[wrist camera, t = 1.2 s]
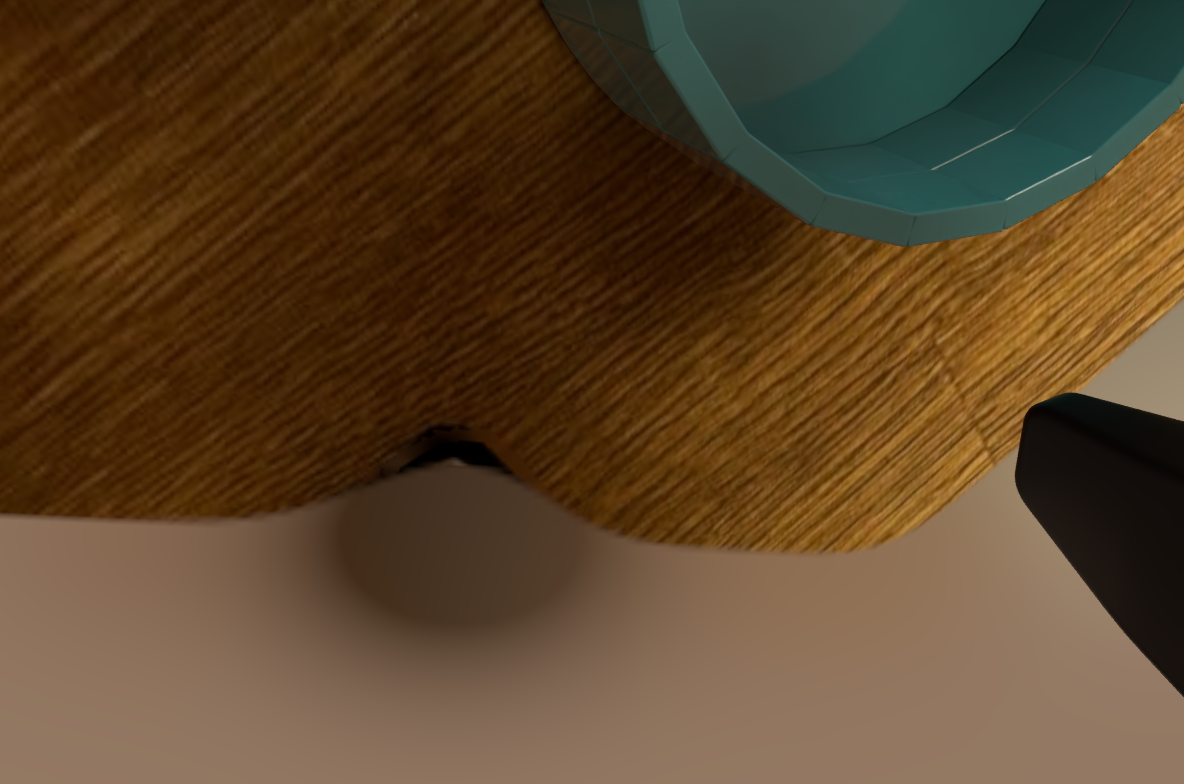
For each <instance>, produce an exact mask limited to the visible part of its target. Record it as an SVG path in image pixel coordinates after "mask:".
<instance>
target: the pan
mask: <svg viewBox="0 0 1184 784" xmlns="http://www.w3.org/2000/svg"><path fill="white" fill-rule="evenodd" d="M542 1H543V3H544V5H545V7H546V9H547V11H548V12H549V14H550V16H551V18H552V19H553V21H554V23H555V25H556V27H557V28H558V30H559V32H560V34H561V35H562V37H563V39H564V41H565V42H566V44H567V46H568V48H569V49H570V50H571V52H572V53H573V54H574V56H575V57H576V58H577V60H578V61H579V62H580V63H581V65H582V66H583V67H584V69H585V70H586V71H587V73H588V74H589V75H590V77H591V78H592V79H593V81H594V82H595V83H596V84H597V85H598V86H599V87H600V88H601V89H602V90H603V91H604V92H605V93H606V94H607V95H608V96H609V97H610V98H611V99H612V101H613V102H614V103H615V104H616V105H618V107H619V109H621V110H622V111H624V112H625V113H626V114H627V115H628V116H630V117H631V118H632V119H634V120H635V121H637V122H638V123H639V124H641V125H642V126H643V127H645V128H646V129H648V130H649V131H650V132H652V133H653V134H654V135H656V136H657V137H658V138H660V139H662V140H664V141H666V142H667V143H669V144H670V145H672V146H673V147H674V148H676V149H677V150H679V151H680V152H681V153H683V154H684V155H686V156H687V157H688V158H690V159H691V160H693V161H694V162H696V163H698V164H699V165H701V166H703V167H705V168H707V169H708V170H710V171H712V172H714V173H716V174H717V175H719V176H721V177H723V178H725V179H726V180H728V181H730V182H732V183H734V184H735V185H737V186H739V187H741V188H743V189H745V190H746V191H748V192H750V193H751V194H753V195H755V196H757V197H759V198H760V199H762V200H764V201H766V202H768V203H769V204H771V205H773V206H775V207H777V208H778V209H780V210H782V211H784V212H786V213H787V214H789V215H791V216H793V217H795V218H796V219H798V220H800V221H802V222H804V223H805V224H808V225H810V226H811V227H816V228H820V229H825V230H829V231H834V232H838V233H843V234H847V235H852V236H856V237H861V238H865V239H870V240H874V241H879V242H883V243H888V244H892V245H897V246H901V247H905V246H907V247H910V246H916V245H922V244H928V243H934V242H940V241H946V240H952V239H958V238H965V237H971V236H977V235H983V234H989V233H995V232H1001V231H1002V230H1003V229H1008V228H1009V227H1011V226H1013V225H1015V224H1017V223H1019V222H1021V221H1023V220H1025V219H1027V218H1029V217H1031V216H1033V215H1035V214H1037V213H1038V212H1040V211H1042V210H1044V209H1046V208H1048V207H1050V206H1052V205H1054V204H1056V203H1058V202H1060V201H1062V200H1064V199H1066V198H1067V197H1069V196H1071V195H1073V194H1075V193H1077V192H1079V191H1081V190H1083V189H1085V188H1087V187H1089V186H1091V185H1093V184H1094V183H1095V181H1098V180H1100V179H1101V178H1102V177H1103V176H1104V175H1105V174H1107V173H1108V172H1109V171H1110V170H1111V169H1112V168H1113V167H1114V166H1115V165H1117V164H1118V163H1119V162H1120V161H1121V160H1122V159H1123V158H1124V157H1126V156H1127V155H1128V154H1129V153H1130V152H1131V151H1132V150H1133V149H1134V148H1136V147H1137V146H1138V145H1139V144H1140V143H1141V142H1142V141H1143V140H1145V139H1146V138H1147V137H1148V136H1149V135H1150V134H1151V133H1152V132H1153V131H1155V130H1156V129H1157V128H1158V127H1159V126H1160V125H1161V124H1162V123H1164V122H1165V121H1166V120H1167V119H1168V118H1169V117H1170V116H1171V115H1173V114H1174V113H1175V112H1176V111H1177V110H1178V109H1179V108H1180V106H1181V104H1183V103H1184V0H542Z"/></svg>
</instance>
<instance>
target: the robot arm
mask: <svg viewBox="0 0 1184 784" xmlns="http://www.w3.org/2000/svg"><path fill="white" fill-rule="evenodd" d="M1015 482H1016V486H1017V489H1018V492H1019V494H1020V496H1021V498H1022V500H1023V502H1024V503H1025V505H1026V506H1027V507H1028V508H1029V510H1030V511H1031V512H1032V514H1033V515H1034V516H1035V518H1036V519H1037V520H1038V522H1039V523H1040V524H1041V525H1042V527H1043V528H1044V529H1045V531H1046V532H1047V533H1048V535H1049V536H1050V537H1051V539H1052V540H1053V541H1054V543H1055V544H1056V545H1057V547H1058V548H1059V549H1060V550H1061V552H1062V553H1063V554H1064V556H1065V557H1066V558H1067V559H1068V561H1069V562H1070V563H1071V565H1072V566H1073V567H1074V569H1075V570H1076V571H1077V573H1078V574H1079V575H1080V577H1081V578H1082V579H1083V581H1084V582H1085V583H1086V584H1087V586H1088V587H1089V588H1090V590H1091V591H1092V592H1093V593H1094V595H1095V596H1096V597H1097V599H1098V600H1099V601H1100V603H1101V604H1102V605H1103V607H1104V608H1105V609H1106V611H1107V612H1108V613H1109V614H1110V615H1111V617H1112V618H1113V619H1114V621H1115V622H1116V623H1117V624H1118V625H1119V627H1120V628H1121V629H1122V630H1123V631H1124V633H1125V634H1126V635H1127V636H1128V637H1129V638H1130V640H1131V641H1132V642H1133V643H1134V644H1135V645H1136V646H1137V647H1138V649H1140V651H1141V652H1142V653H1143V654H1144V655H1145V656H1146V657H1147V658H1148V659H1149V660H1150V661H1151V663H1152V664H1153V665H1154V666H1155V667H1156V668H1157V669H1158V670H1159V671H1160V672H1161V673H1162V675H1163V676H1164V677H1165V678H1166V679H1167V680H1168V681H1169V682H1170V683H1171V684H1172V685H1173V686H1174V687H1175V688H1176V690H1177V691H1178V692H1179V693H1180V694H1181V695H1182V696H1183V697H1184V421H1180V420H1176V419H1172V418H1168V417H1165V416H1161V415H1157V414H1154V413H1150V412H1146V411H1142V410H1139V409H1135V408H1131V407H1128V406H1124V405H1120V404H1116V403H1112V402H1109V401H1105V400H1101V399H1098V398H1094V397H1090V396H1087V395H1083V394H1079V393H1064V394H1061V395H1058V396H1055V397H1053V398H1050V399H1048V400H1045V401H1043V402H1040V403H1038V404H1035V405H1034V406H1032V407H1031V408H1030V409H1029V410H1028V412H1027V413H1026V415H1025V418H1024V421H1023V427H1022V433H1021V439H1020V445H1019V451H1018V457H1017V463H1016V470H1015Z"/></svg>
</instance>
